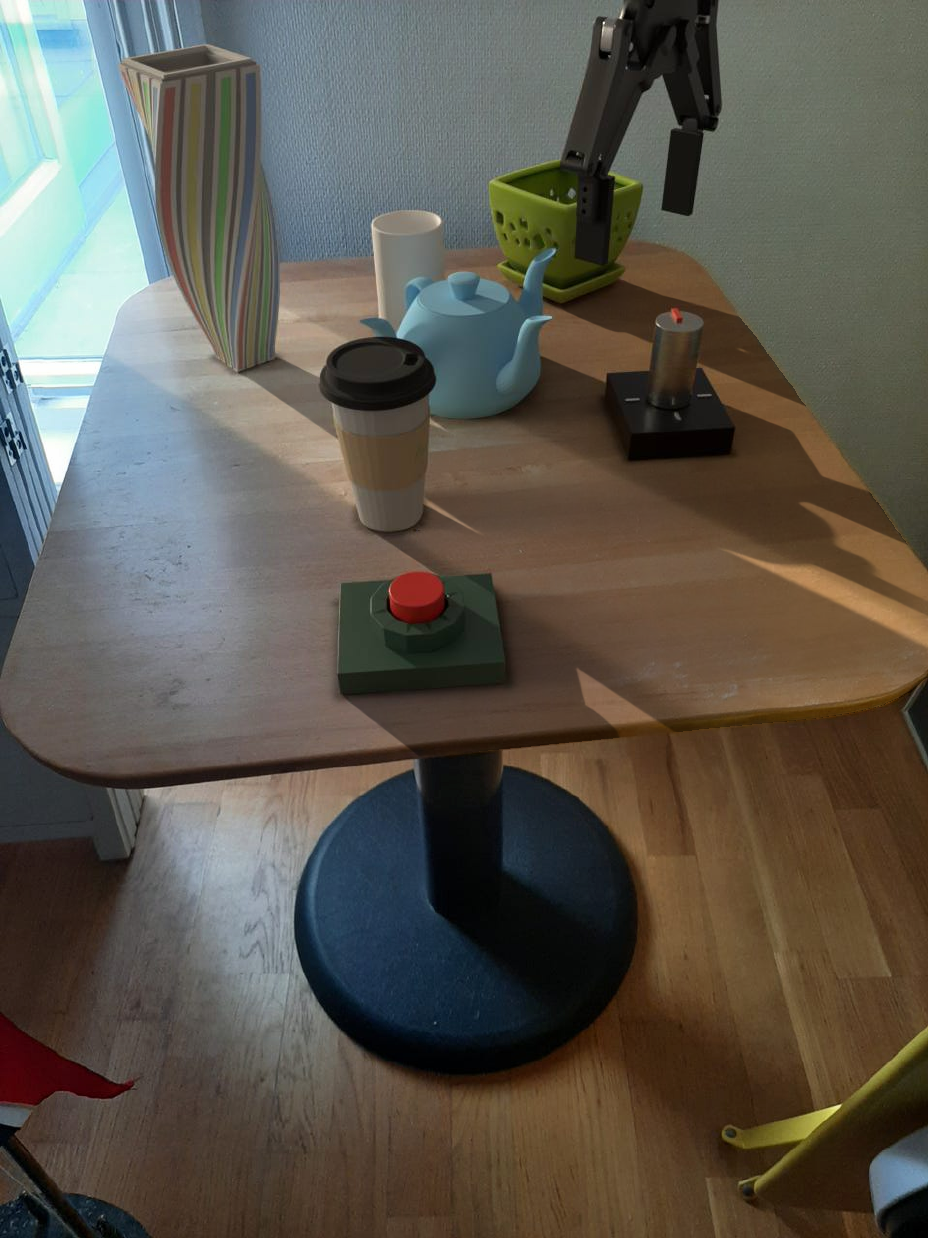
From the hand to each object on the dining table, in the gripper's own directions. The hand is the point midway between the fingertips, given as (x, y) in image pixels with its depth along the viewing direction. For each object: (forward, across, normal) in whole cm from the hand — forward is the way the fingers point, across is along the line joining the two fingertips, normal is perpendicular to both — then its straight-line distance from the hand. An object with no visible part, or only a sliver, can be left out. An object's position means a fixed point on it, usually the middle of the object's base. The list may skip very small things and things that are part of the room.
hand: (635, 235), depth 78 cm
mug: (+20, -8, -35) cm, 41 cm away
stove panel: (+20, -6, +2) cm, 21 cm away
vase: (+20, +10, -43) cm, 49 cm away
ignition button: (+16, +33, +4) cm, 37 cm away
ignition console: (+20, +33, +4) cm, 39 cm away
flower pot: (+20, -28, -26) cm, 43 cm away
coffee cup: (+20, +22, -10) cm, 32 cm away
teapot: (+20, +1, -18) cm, 27 cm away
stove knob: (+17, -6, +2) cm, 18 cm away
